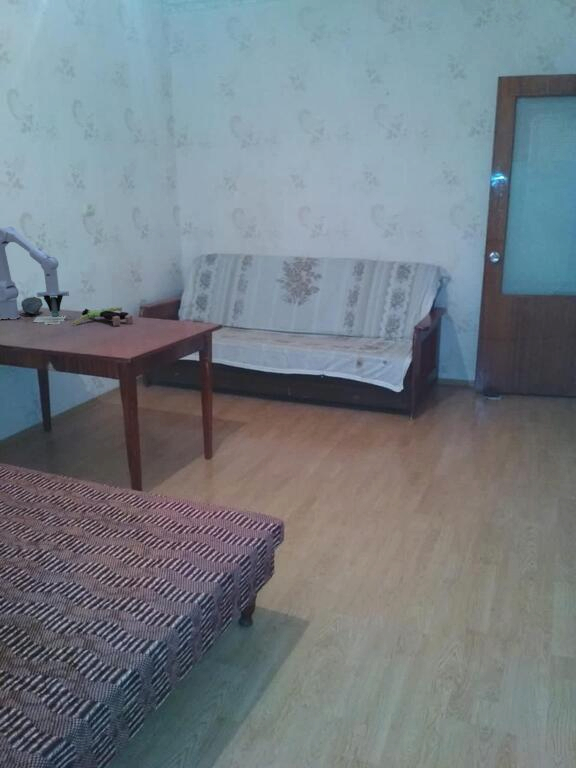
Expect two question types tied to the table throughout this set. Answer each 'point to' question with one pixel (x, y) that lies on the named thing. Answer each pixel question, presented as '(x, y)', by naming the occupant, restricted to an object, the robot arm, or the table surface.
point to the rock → (31, 305)
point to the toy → (106, 315)
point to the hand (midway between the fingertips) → (54, 311)
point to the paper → (49, 319)
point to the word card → (51, 323)
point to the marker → (54, 307)
